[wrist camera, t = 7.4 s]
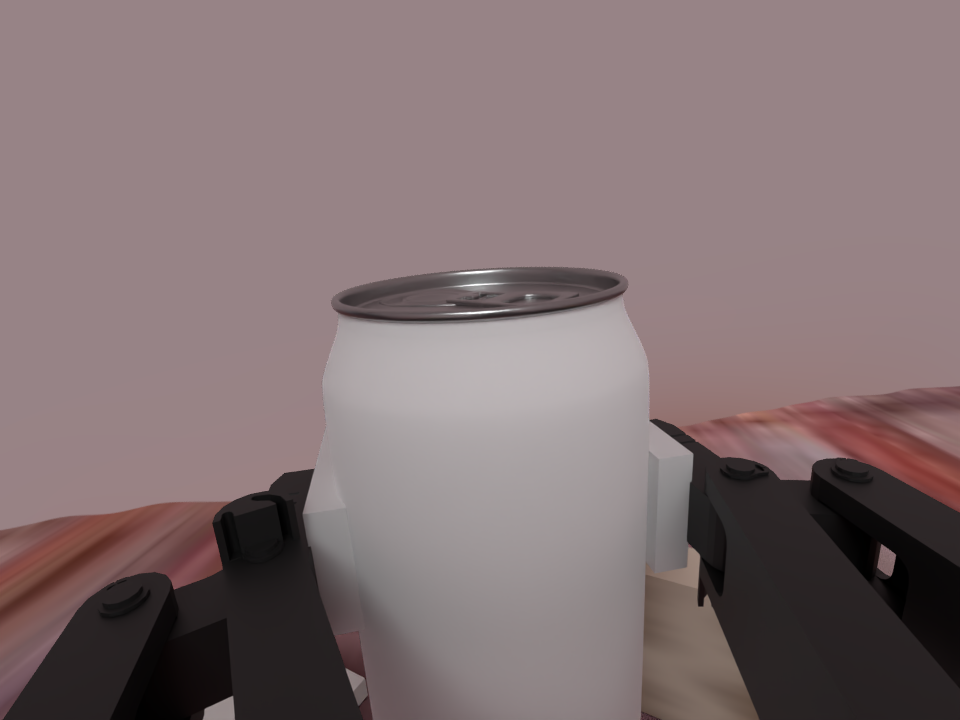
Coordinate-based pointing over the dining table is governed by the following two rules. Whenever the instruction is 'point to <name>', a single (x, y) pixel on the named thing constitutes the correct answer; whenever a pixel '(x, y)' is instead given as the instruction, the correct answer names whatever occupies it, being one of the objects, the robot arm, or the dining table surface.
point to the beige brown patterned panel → (687, 653)
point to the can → (494, 491)
